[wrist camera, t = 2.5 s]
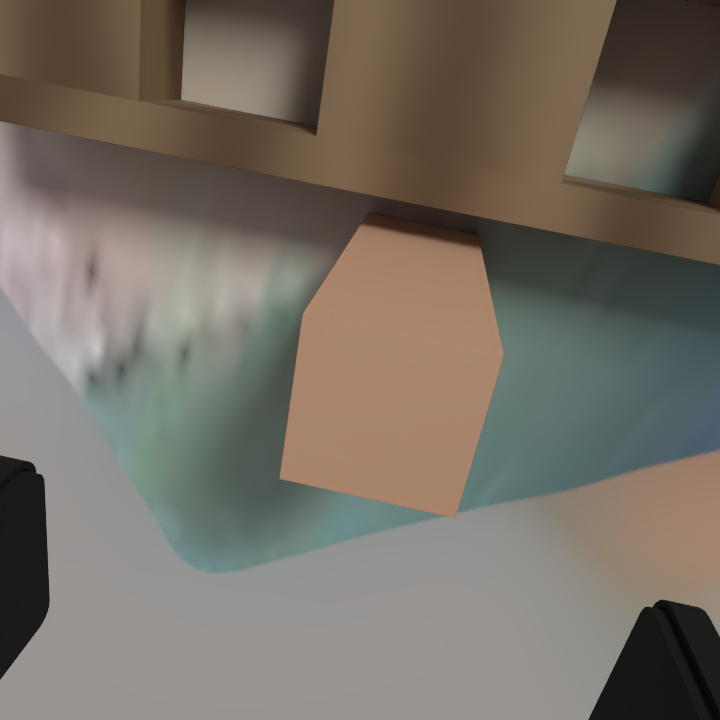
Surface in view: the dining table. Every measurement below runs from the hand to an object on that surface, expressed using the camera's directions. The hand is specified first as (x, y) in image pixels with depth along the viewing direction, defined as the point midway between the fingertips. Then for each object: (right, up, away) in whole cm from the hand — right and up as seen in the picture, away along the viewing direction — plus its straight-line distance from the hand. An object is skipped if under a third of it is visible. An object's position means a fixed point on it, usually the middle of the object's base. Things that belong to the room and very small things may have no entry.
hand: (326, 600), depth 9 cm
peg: (+3, +7, +15) cm, 17 cm away
